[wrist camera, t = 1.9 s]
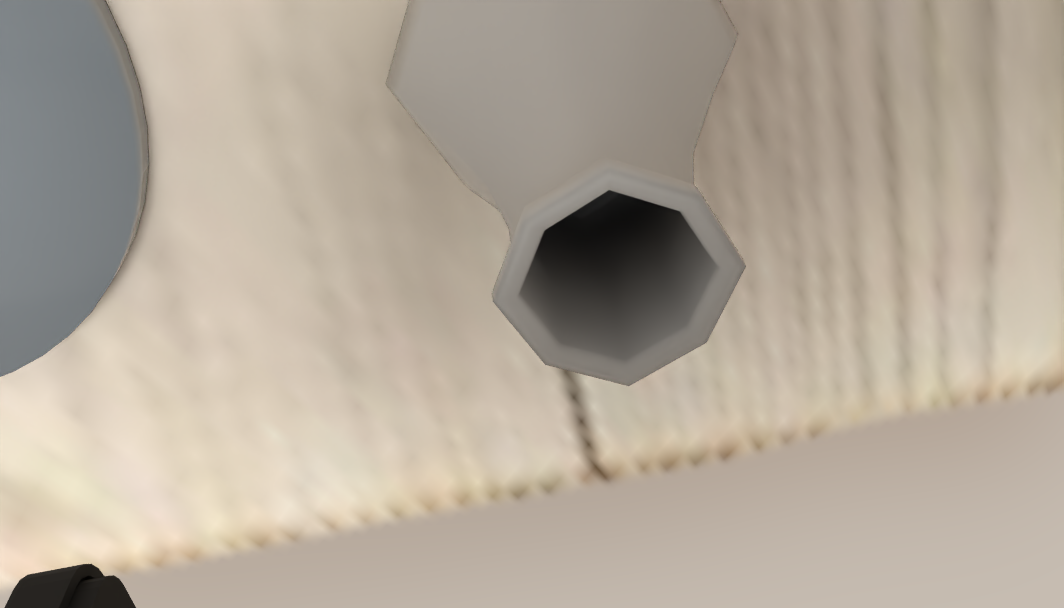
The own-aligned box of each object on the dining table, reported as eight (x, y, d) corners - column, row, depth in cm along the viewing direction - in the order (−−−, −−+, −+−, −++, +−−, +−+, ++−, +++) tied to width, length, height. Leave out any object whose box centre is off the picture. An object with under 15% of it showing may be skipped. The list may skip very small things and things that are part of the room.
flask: (529, -206, 19) (580, -128, 11) (793, 21, 22) (1004, 231, 13) (328, 88, 22) (239, 338, 13) (583, 258, 24) (645, 559, 16)
